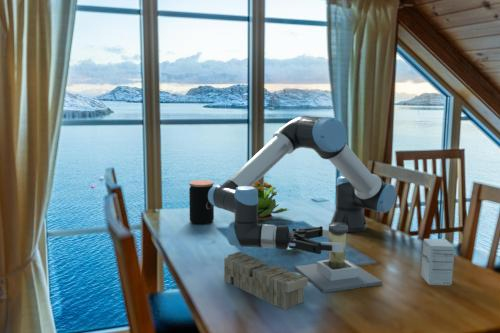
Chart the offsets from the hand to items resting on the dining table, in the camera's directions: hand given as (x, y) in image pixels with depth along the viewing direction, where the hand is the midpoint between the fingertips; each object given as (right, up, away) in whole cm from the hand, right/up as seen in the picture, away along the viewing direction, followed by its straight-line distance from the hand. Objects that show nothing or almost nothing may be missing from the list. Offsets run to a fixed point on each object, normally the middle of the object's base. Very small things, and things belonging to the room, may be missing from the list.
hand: (343, 240), depth 152 cm
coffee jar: (-51, -2, +63) cm, 81 cm away
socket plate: (-2, -12, +2) cm, 12 cm away
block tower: (-26, -14, -9) cm, 31 cm away
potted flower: (-24, -1, +71) cm, 75 cm away
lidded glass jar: (-2, -11, +2) cm, 11 cm away
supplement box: (+29, -13, 0) cm, 32 cm away
